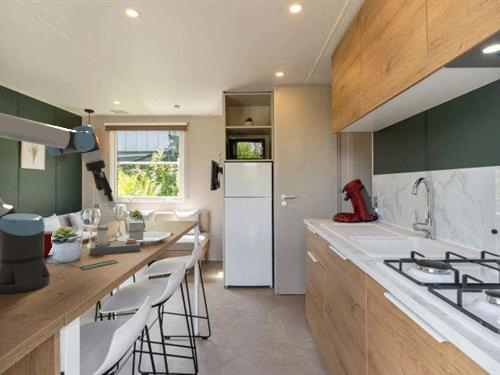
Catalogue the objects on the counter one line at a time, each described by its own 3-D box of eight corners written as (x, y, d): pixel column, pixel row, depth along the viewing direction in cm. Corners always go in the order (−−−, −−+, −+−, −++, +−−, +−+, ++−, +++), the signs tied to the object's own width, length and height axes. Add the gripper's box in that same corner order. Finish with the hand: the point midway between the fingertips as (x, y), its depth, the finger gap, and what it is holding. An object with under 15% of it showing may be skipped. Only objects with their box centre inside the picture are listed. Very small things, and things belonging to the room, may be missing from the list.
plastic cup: (65, 254, 141) (65, 229, 141) (47, 260, 130) (47, 233, 130) (44, 254, 142) (44, 229, 142) (24, 259, 131) (24, 232, 131)
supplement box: (128, 245, 165) (128, 222, 164) (130, 242, 172) (130, 221, 172) (142, 244, 167) (142, 222, 166) (143, 242, 174) (143, 220, 174)
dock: (90, 257, 137) (90, 248, 137) (92, 251, 148) (92, 243, 148) (140, 252, 146) (140, 244, 146) (138, 248, 157) (138, 240, 157)
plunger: (127, 247, 147) (127, 240, 147) (126, 245, 151) (126, 238, 151) (135, 246, 149) (135, 239, 149) (135, 245, 152) (135, 238, 152)
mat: (84, 269, 116) (84, 268, 116) (68, 264, 124) (68, 262, 124) (117, 262, 127) (117, 261, 127) (101, 257, 136) (101, 256, 136)
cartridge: (100, 252, 141) (100, 227, 141) (94, 251, 144) (95, 226, 144) (110, 251, 145) (110, 226, 145) (105, 249, 148) (105, 225, 148)
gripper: (109, 159, 123) (125, 206, 129) (96, 157, 142) (110, 198, 148) (90, 164, 119) (107, 213, 125) (80, 161, 138) (94, 203, 144)
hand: (109, 205), depth 136 cm, fingers open, 13 cm apart
